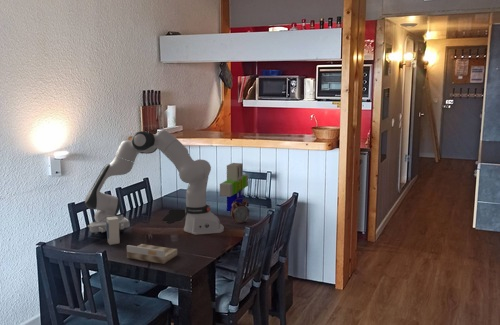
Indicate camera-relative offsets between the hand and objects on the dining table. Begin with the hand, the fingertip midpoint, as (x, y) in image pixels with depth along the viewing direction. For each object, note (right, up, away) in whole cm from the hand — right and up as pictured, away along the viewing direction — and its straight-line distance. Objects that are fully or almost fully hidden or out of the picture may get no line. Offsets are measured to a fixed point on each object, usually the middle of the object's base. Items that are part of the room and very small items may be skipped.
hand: (112, 229), depth 244 cm
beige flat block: (+24, -10, -19) cm, 32 cm away
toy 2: (+61, +3, +65) cm, 89 cm away
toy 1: (+24, +1, +49) cm, 55 cm away
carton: (0, -7, +1) cm, 7 cm away
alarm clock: (+65, -1, +36) cm, 74 cm away
